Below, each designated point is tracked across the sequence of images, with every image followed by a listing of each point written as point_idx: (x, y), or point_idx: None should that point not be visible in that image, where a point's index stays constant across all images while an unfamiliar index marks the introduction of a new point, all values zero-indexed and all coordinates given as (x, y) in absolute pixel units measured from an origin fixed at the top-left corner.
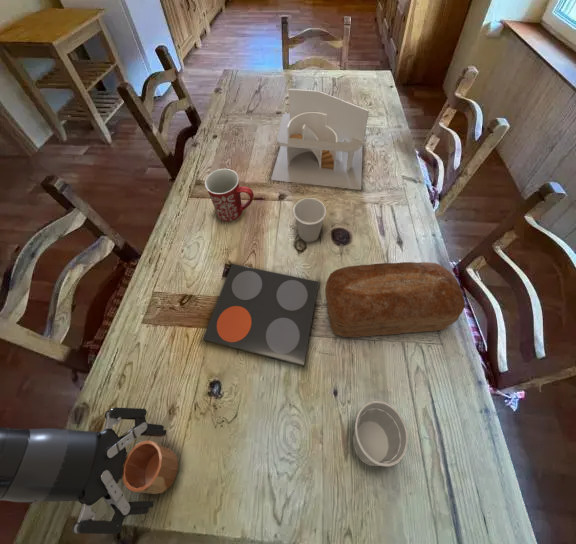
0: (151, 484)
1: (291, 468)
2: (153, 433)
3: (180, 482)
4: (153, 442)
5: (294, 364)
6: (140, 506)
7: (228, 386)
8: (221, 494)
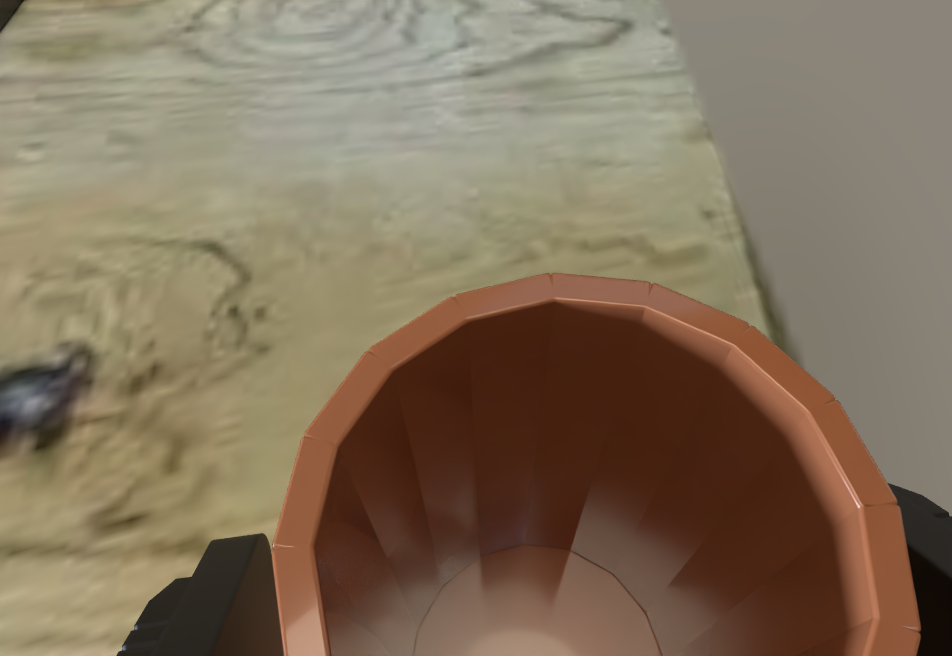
0: (746, 326)
1: (441, 5)
2: (215, 621)
3: None
4: (300, 457)
5: (1, 24)
6: (918, 515)
7: (31, 321)
8: (584, 248)
